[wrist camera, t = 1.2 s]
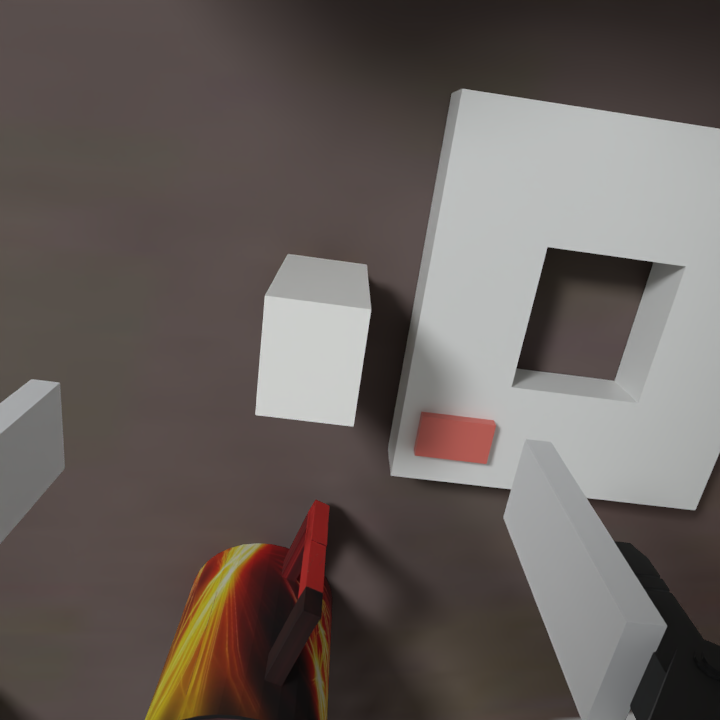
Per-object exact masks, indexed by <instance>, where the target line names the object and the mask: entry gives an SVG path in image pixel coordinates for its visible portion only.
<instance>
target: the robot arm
mask: <svg viewBox="0 0 720 720" xmlns="http://www.w3.org/2000/svg"><path fill="white" fill-rule="evenodd" d="M64 469H65V462H64V444H63V427H62V409H61V392H60V383H58V382H50V381H41V380H33V379H31V380H30V381H29V382H27V383H26V384H25V385H23V386H22V387H21V388H19V389H18V390H17V391H16V392H14V393H13V394H12V395H10V396H9V397H8V398H6V399H5V400H4V401H3V402H1V403H0V544H1V542H2V541H3V540H4V539H5V538H6V537H7V535H8V534H9V533H10V532H11V531H12V529H13V528H14V527H15V526H16V525H17V524H18V522H19V521H20V520H21V519H22V518H23V517H24V515H25V514H26V513H27V512H28V511H29V510H30V508H31V507H32V506H33V505H34V504H35V503H36V501H37V500H38V499H39V498H40V497H41V496H42V494H43V493H44V492H45V491H46V490H47V489H48V487H49V486H50V485H51V484H52V483H53V482H54V480H55V479H56V478H57V477H58V476H59V475H60V473H61V472H62V471H63V470H64ZM503 518H504V521H505V523H506V526H507V528H508V531H509V534H510V536H511V539H512V541H513V544H514V546H515V549H516V552H517V554H518V557H519V559H520V562H521V565H522V567H523V570H524V572H525V575H526V578H527V580H528V583H529V585H530V588H531V591H532V593H533V596H534V598H535V601H536V604H537V606H538V609H539V611H540V614H541V616H542V619H543V622H544V624H545V627H546V629H547V632H548V635H549V637H550V640H551V642H552V645H553V648H554V650H555V653H556V655H557V658H558V661H559V663H560V666H561V668H562V671H563V674H564V676H565V679H566V681H567V684H568V686H569V689H570V692H571V694H572V697H573V699H574V702H575V705H576V707H577V710H578V712H579V715H580V718H581V720H626V718H627V715H628V713H629V711H630V709H631V710H632V712H633V714H634V716H635V718H636V720H720V646H718V645H716V644H714V643H711V642H709V641H706V640H704V639H703V638H702V636H701V635H700V633H699V632H698V631H697V629H696V628H695V626H694V625H693V623H692V622H691V620H690V619H689V617H688V616H687V615H686V613H685V612H684V610H683V609H682V607H681V606H680V604H679V603H678V601H677V600H676V598H675V597H674V596H673V594H672V593H670V592H669V588H668V587H667V585H666V584H665V582H664V581H663V580H662V579H660V575H659V574H658V572H657V571H656V569H655V568H654V566H653V565H652V564H651V562H650V561H649V559H648V558H647V557H646V556H644V555H643V554H642V553H641V552H640V551H639V550H637V549H636V548H635V547H634V546H633V545H631V544H630V543H624V542H615V541H613V539H612V538H611V536H610V534H609V533H608V531H607V530H606V528H605V526H604V525H603V523H602V522H601V520H600V519H599V517H598V515H597V514H596V512H595V511H594V509H593V508H592V506H591V504H590V503H589V501H588V500H587V498H586V496H585V495H584V493H583V492H582V490H581V489H580V487H579V485H578V484H577V482H576V481H575V479H574V477H573V476H572V474H571V473H570V471H569V470H568V468H567V466H566V465H565V463H564V462H563V460H562V459H561V457H560V455H559V454H558V452H557V451H556V449H555V447H554V446H553V444H552V443H551V442H546V441H537V440H529V439H525V442H524V446H523V449H522V453H521V456H520V460H519V463H518V467H517V471H516V474H515V478H514V481H513V485H512V488H511V492H510V495H509V499H508V503H507V506H506V510H505V513H504V517H503Z"/></svg>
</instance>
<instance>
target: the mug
mask: <svg viewBox="0 0 720 720" xmlns="http://www.w3.org/2000/svg"><path fill="white" fill-rule="evenodd" d="M328 521H329V505H327V504H325V503H322V502H320V501H318V500H315V501H314V503H313V505H312V507H311V508H310V510H309V512H308V514H307V516H306V518H305V520H304V522H303V524H302V526H301V527H300V529H299V531H298V533H297V535H296V537H295V539H294V541H293V543H292V545H291V547H290V549H288V548H285V547H281V546H277V545H272V544H259V543H257V544H245V545H240V546H236V547H233V548H229V549H227V550H225V551H223V552H221V553H219V554H217V555H216V556H214V557H213V558H212V559H210V560H209V561H208V562H207V563H206V564H205V565H204V566H203V567H202V568H201V569H200V571H199V573H198V575H197V577H196V578H195V581H194V583H193V586H192V589H191V592H190V595H189V597H188V600H187V603H186V606H185V609H184V612H183V614H182V617H181V620H180V623H179V626H178V628H177V631H176V634H175V637H174V640H173V642H172V645H171V648H170V651H169V654H168V657H167V659H166V662H165V665H164V668H163V671H162V673H161V676H160V679H159V682H158V685H157V688H156V690H155V693H154V696H153V699H152V702H151V704H150V707H149V710H148V713H147V716H146V718H145V720H327V707H328V685H329V663H330V641H331V619H332V594H331V588H330V586H329V584H328V581H327V579H326V577H325V576H324V571H325V556H326V546H327V536H328Z"/></svg>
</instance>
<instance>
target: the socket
mask: <svg viewBox="0 0 720 720" xmlns="http://www.w3.org/2000/svg"><path fill="white" fill-rule="evenodd" d="M547 247H551V248H558V249H565V250H572V251H579V252H586V253H593V254H600V255H608V256H615V257H622V258H629V259H636V260H643V261H650V262H653V265H652V268H651V271H650V274H649V277H648V281H647V284H646V287H645V290H644V293H643V296H642V299H641V302H640V305H639V308H638V311H637V314H636V317H635V320H634V323H633V326H632V329H631V332H630V335H629V339H628V342H627V345H626V348H625V351H624V354H623V357H622V360H621V363H620V366H619V369H618V372H617V375H616V378H615V381H611V380H604V379H596V378H588V377H580V376H572V375H564V374H556V373H549V372H541V371H533V370H525V369H517V364H518V360H519V356H520V352H521V348H522V344H523V341H524V337H525V333H526V329H527V325H528V321H529V317H530V313H531V310H532V306H533V302H534V298H535V294H536V290H537V286H538V282H539V278H540V275H541V271H542V267H543V263H544V259H545V255H546V251H547ZM525 439H529V440H537V441H546V442H551V443H552V444H553V446H554V447H555V449H556V451H557V452H558V454H559V455H560V457H561V459H562V460H563V462H564V463H565V465H566V466H567V468H568V470H569V471H570V473H571V474H572V476H573V477H574V479H575V481H576V482H577V484H578V485H579V487H580V489H581V490H582V492H583V493H584V495H585V496H586V498H591V499H600V500H609V501H617V502H626V503H635V504H644V505H652V506H661V507H670V508H679V509H687V510H696V508H697V505H698V503H699V500H700V498H701V496H702V493H703V491H704V489H705V486H706V484H707V481H708V479H709V477H710V474H711V472H712V470H713V467H714V465H715V462H716V460H717V458H718V455H719V453H720V129H718V128H711V127H705V126H698V125H692V124H686V123H679V122H673V121H666V120H660V119H654V118H647V117H641V116H634V115H628V114H622V113H615V112H609V111H602V110H596V109H590V108H583V107H577V106H570V105H564V104H558V103H551V102H545V101H538V100H532V99H526V98H519V97H513V96H506V95H500V94H494V93H487V92H481V91H474V90H468V89H460V90H458V91H456V92H453V93H452V94H451V99H450V105H449V110H448V116H447V122H446V127H445V133H444V138H443V144H442V149H441V155H440V161H439V166H438V172H437V177H436V183H435V188H434V194H433V200H432V205H431V211H430V216H429V222H428V227H427V233H426V239H425V244H424V250H423V255H422V261H421V266H420V272H419V278H418V283H417V289H416V294H415V300H414V305H413V311H412V317H411V322H410V328H409V333H408V339H407V344H406V350H405V356H404V361H403V367H402V372H401V378H400V383H399V389H398V395H397V400H396V406H395V411H394V417H393V422H392V428H391V434H390V439H389V445H388V455H389V464H390V473H391V476H399V477H407V478H416V479H425V480H434V481H442V482H451V483H460V484H469V485H477V486H486V487H495V488H504V489H511V488H512V485H513V481H514V478H515V474H516V471H517V467H518V463H519V460H520V456H521V453H522V449H523V446H524V442H525Z"/></svg>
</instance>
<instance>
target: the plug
mask: <svg viewBox="0 0 720 720" xmlns="http://www.w3.org/2000/svg"><path fill="white" fill-rule="evenodd" d="M370 315H371V301H370V292H369V282H368V272H367V265H366V264H358V263H351V262H344V261H336V260H329V259H322V258H314V257H307V256H300V255H292V254H288V255H287V256H286V258H285V260H284V262H283V264H282V265H281V267H280V269H279V271H278V273H277V275H276V276H275V278H274V280H273V282H272V284H271V285H270V287H269V289H268V291H267V293H266V295H265V301H264V313H263V326H262V338H261V350H260V363H259V375H258V387H257V399H256V412H255V415H260V416H269V417H277V418H286V419H294V420H302V421H311V422H319V423H328V424H336V425H344V426H353V427H354V420H355V413H356V407H357V400H358V394H359V387H360V381H361V374H362V367H363V361H364V354H365V348H366V341H367V335H368V328H369V321H370Z"/></svg>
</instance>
